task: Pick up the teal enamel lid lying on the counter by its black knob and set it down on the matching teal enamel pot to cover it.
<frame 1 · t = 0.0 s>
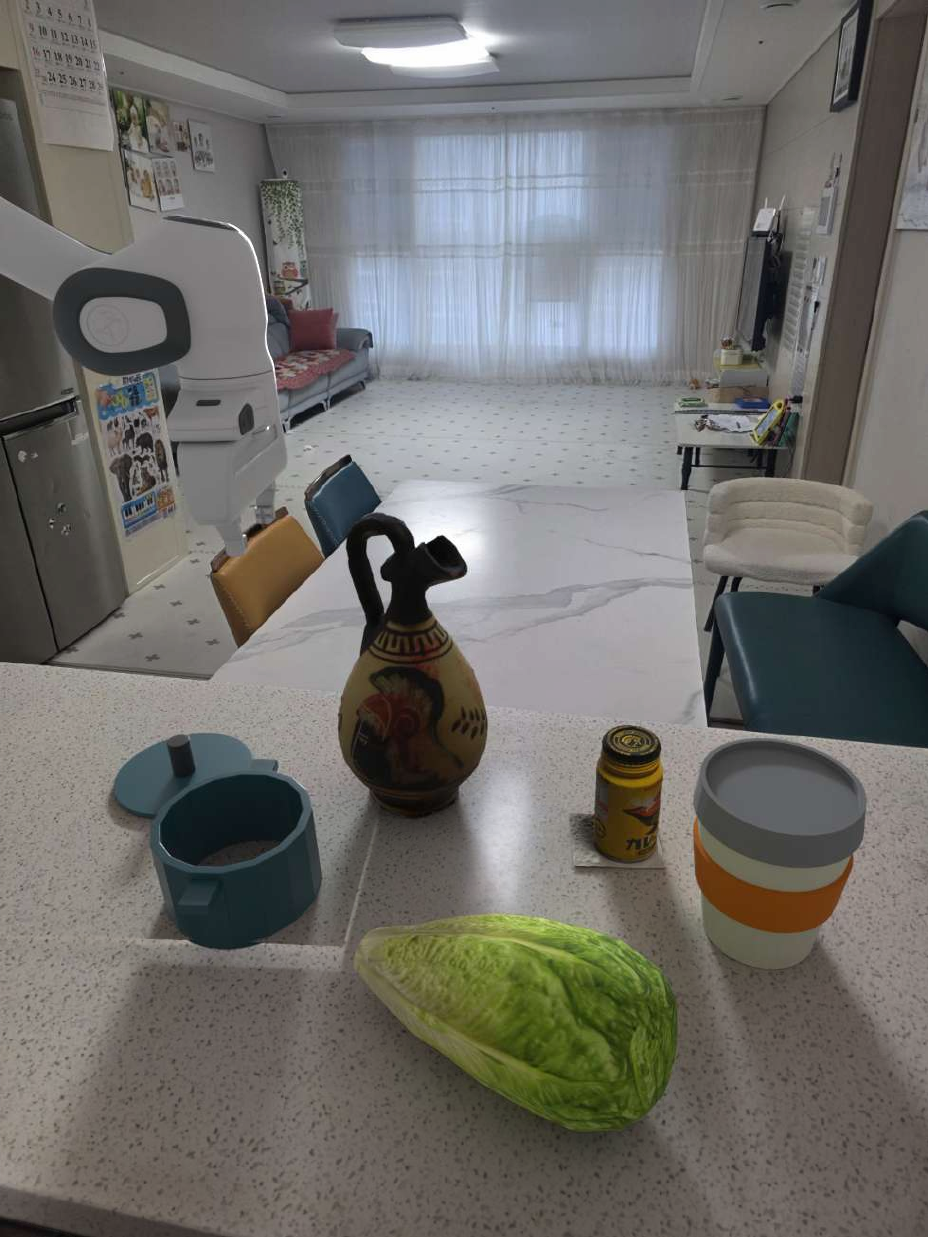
hand: (252, 537, 85), 25 cm above the table, tool pointing down, fingers open, 8 cm apart
pot: (246, 890, 75), on the table
reusable coffee cup: (756, 927, 70), on the table
ceramic jug: (411, 786, 89), on the table
condiment: (615, 843, 80), on the table
lettuce: (503, 1043, 61), on the table
pot lid: (185, 775, 90), point 1 cm above the table
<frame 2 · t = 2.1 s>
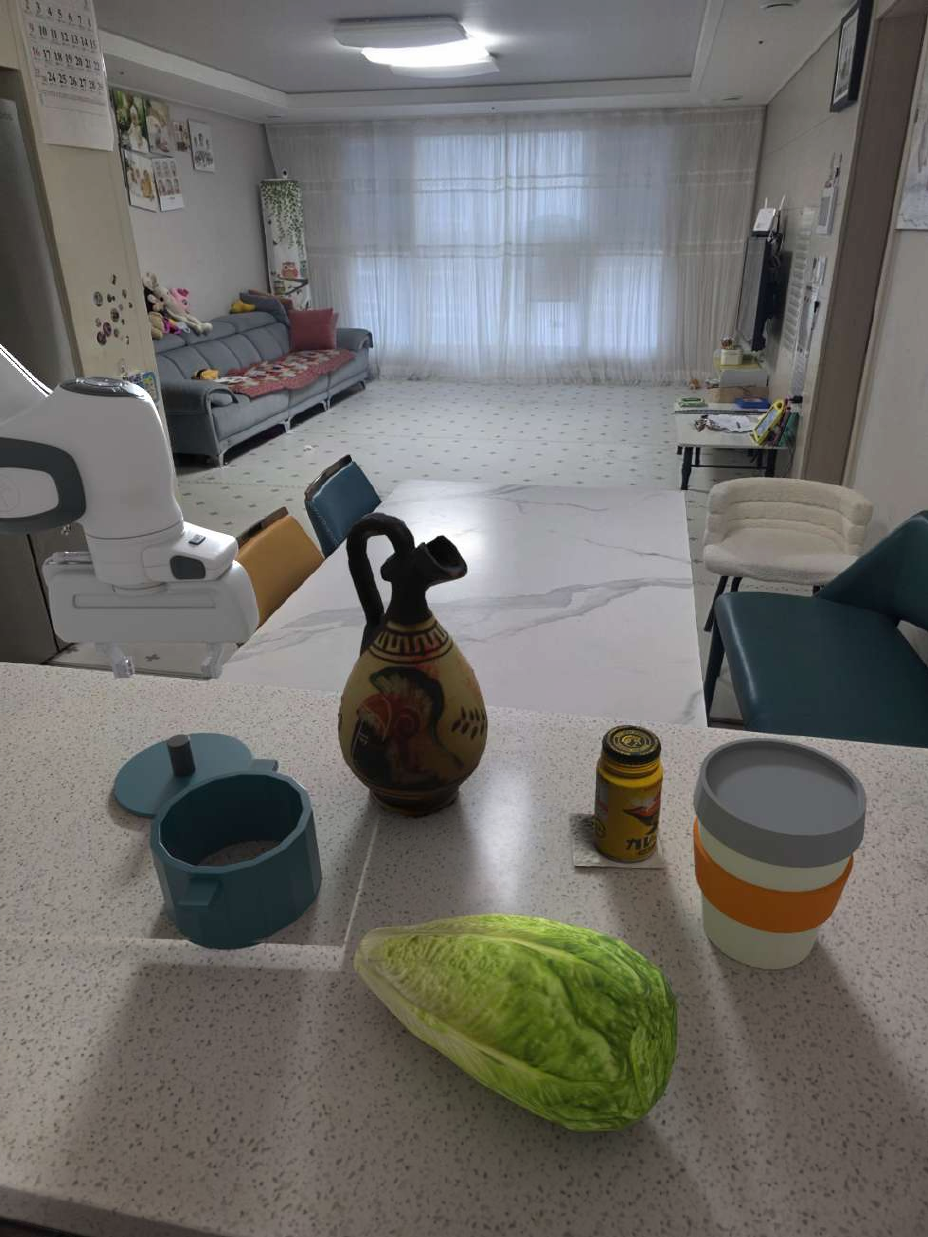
hand: (169, 676, 85), 13 cm above the table, tool pointing down, fingers open, 8 cm apart
nothing on the table moved.
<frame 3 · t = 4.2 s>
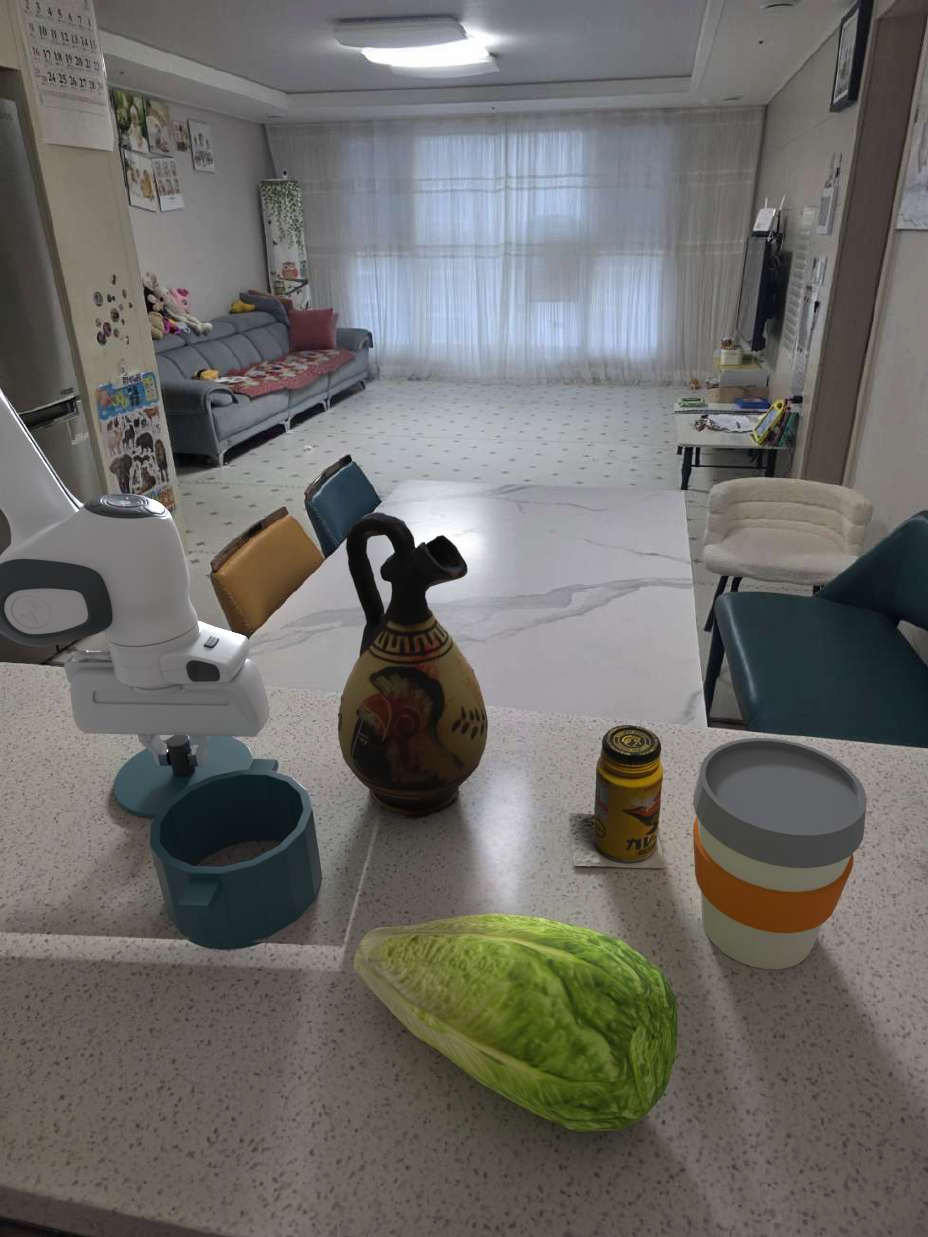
hand: (183, 763, 90), 2 cm above the table, tool pointing down, fingers closed on pot lid, 2 cm apart
pot lid: (185, 775, 90), point 1 cm above the table, touching gripper
everything else where it was.
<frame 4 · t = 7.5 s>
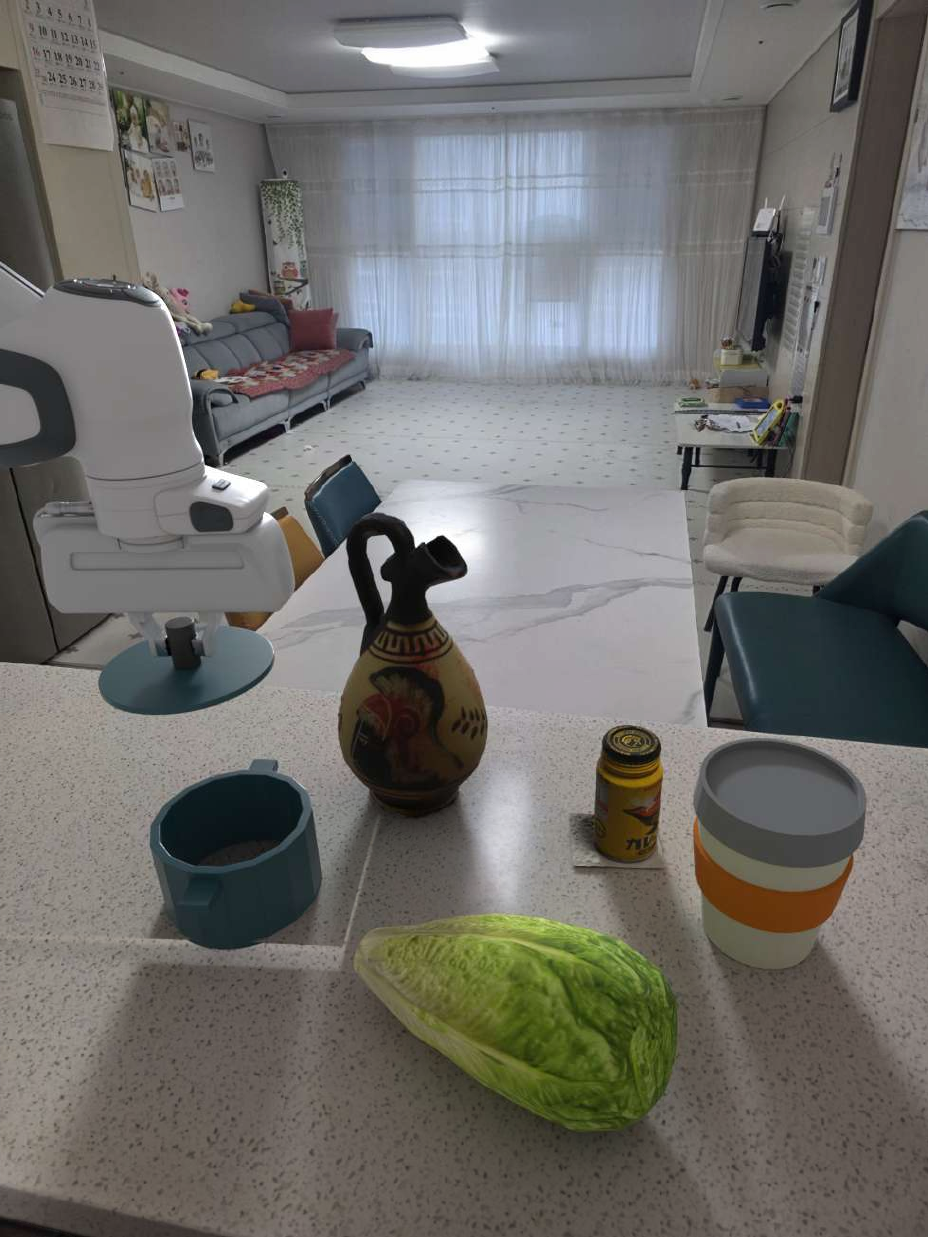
hand: (186, 653, 71), 22 cm above the table, tool pointing down, fingers closed on pot lid, 2 cm apart
pot lid: (189, 669, 72), point 20 cm above the table, touching gripper
everything else where it was.
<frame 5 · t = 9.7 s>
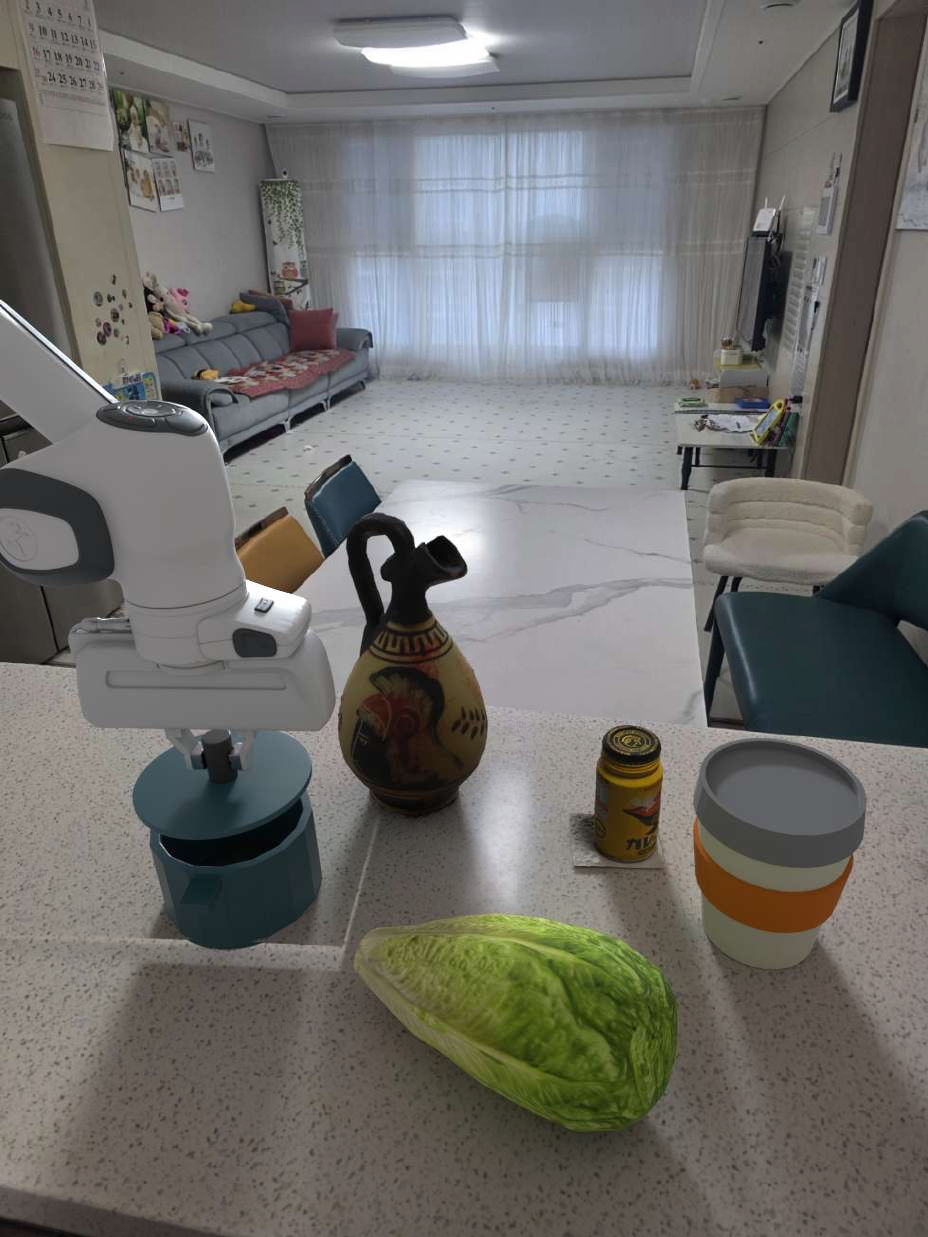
hand: (222, 766, 69), 14 cm above the table, tool pointing down, fingers closed on pot lid, 2 cm apart
pot lid: (225, 781, 70), point 12 cm above the table, touching gripper
everything else where it was.
when the fingers open (10 cm above the table, at t = 10.9 s): pot lid stays where it is, resting on pot.
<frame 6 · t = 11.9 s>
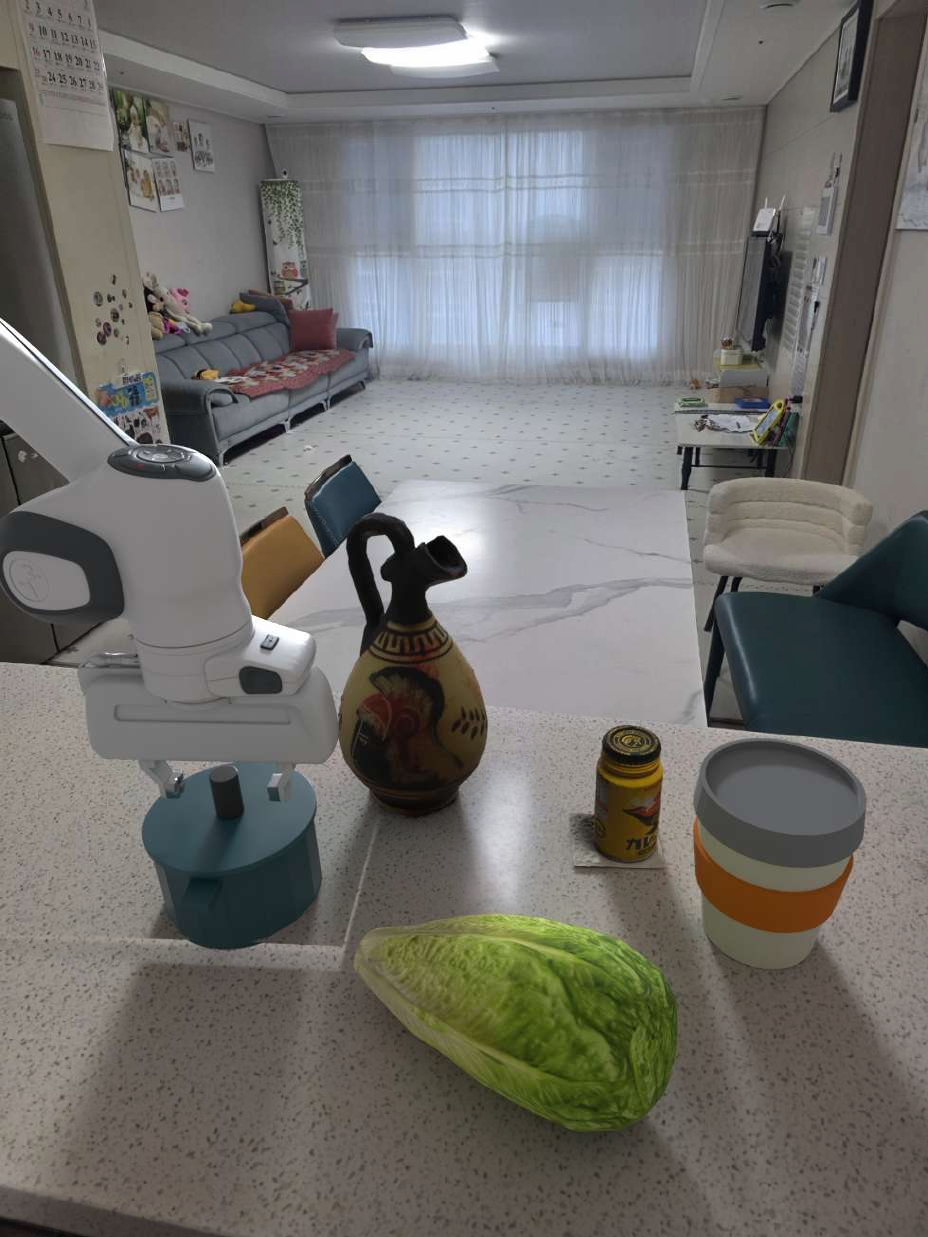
hand: (227, 795, 71), 11 cm above the table, tool pointing down, fingers open, 8 cm apart
pot lid: (231, 816, 72), point 8 cm above the table, touching pot
everything else where it was.
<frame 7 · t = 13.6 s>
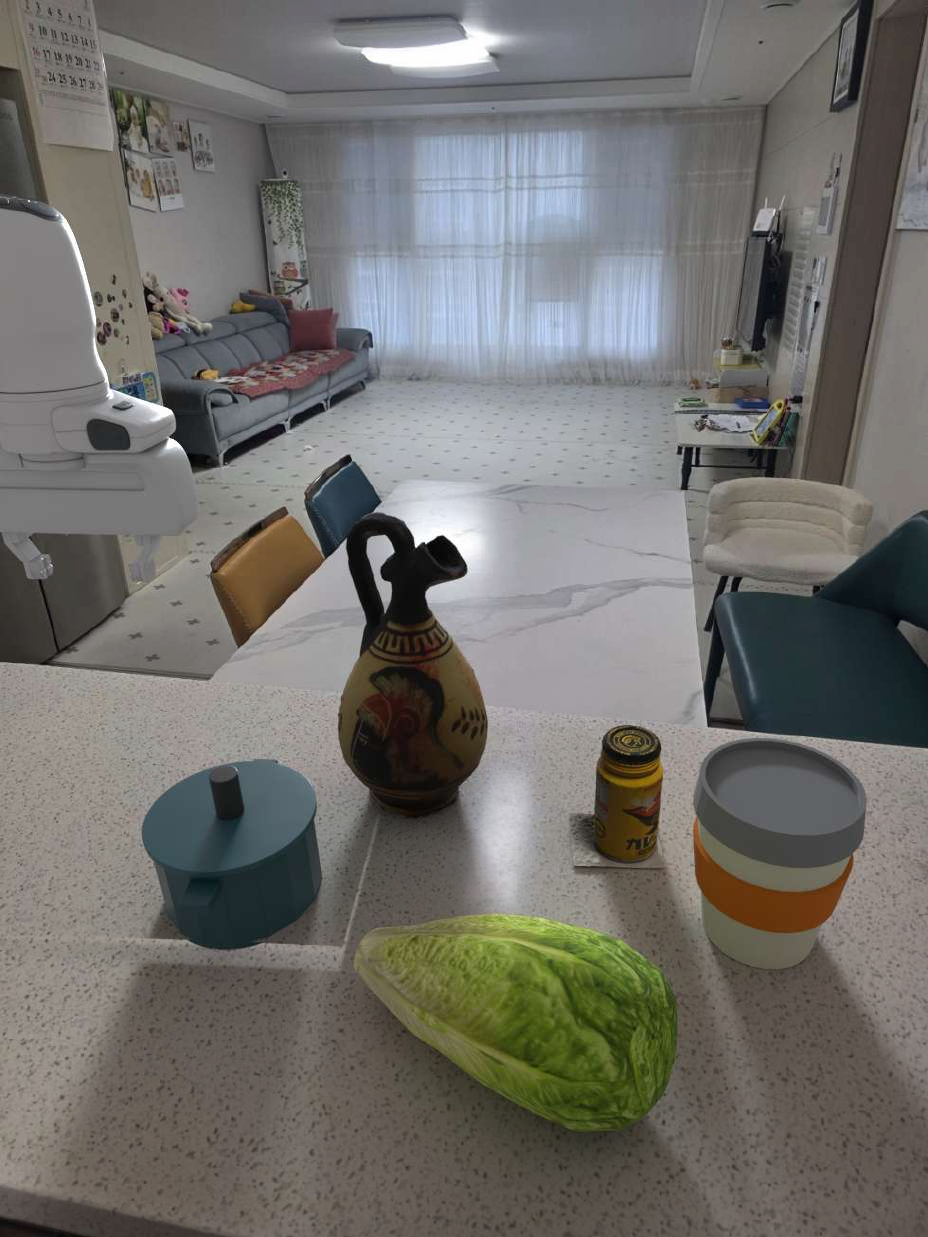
hand: (92, 578, 72), 27 cm above the table, tool pointing down, fingers open, 8 cm apart
nothing on the table moved.
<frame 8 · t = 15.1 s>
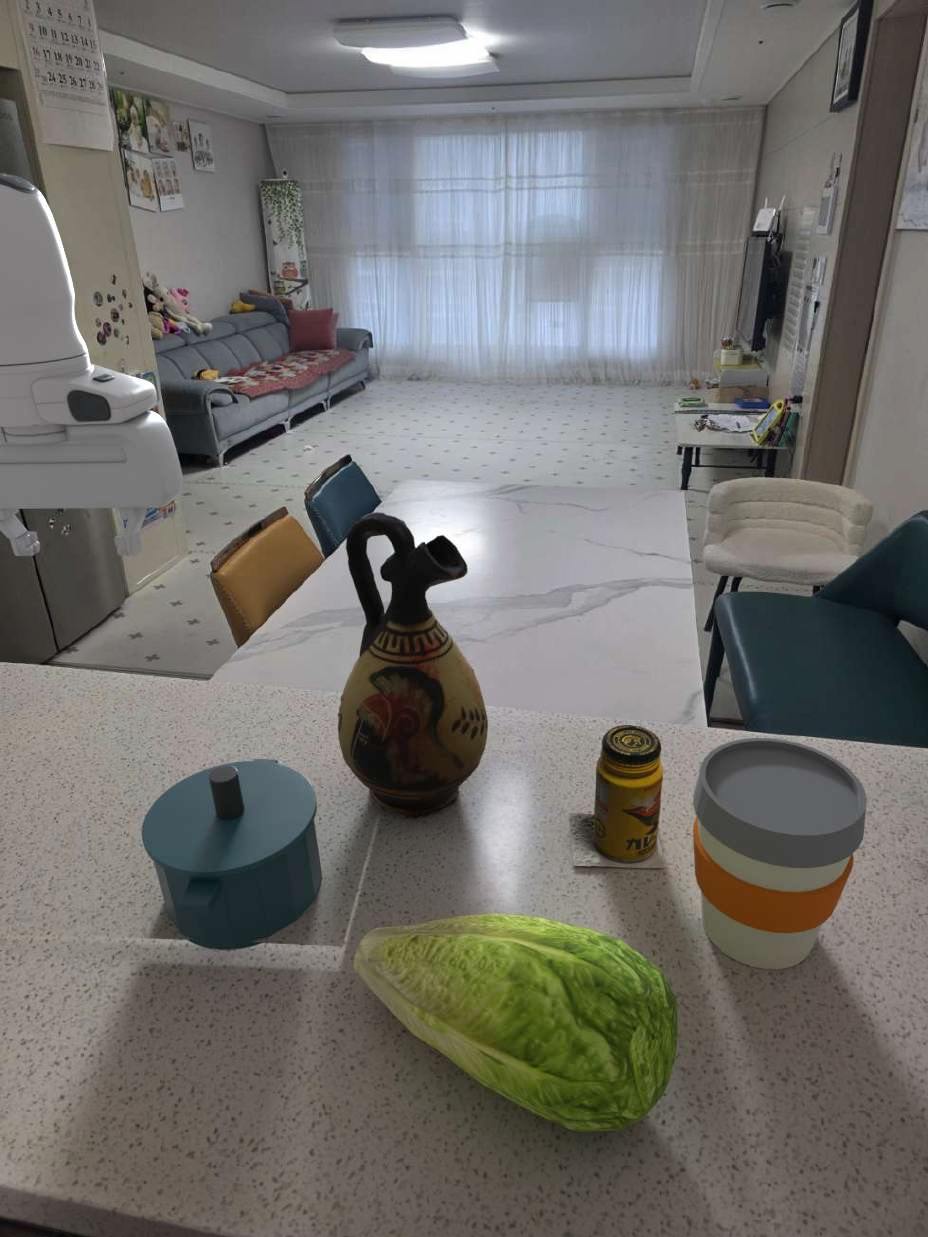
hand: (79, 553, 73), 29 cm above the table, tool pointing down, fingers open, 8 cm apart
nothing on the table moved.
at the end: pot lid 0.0 cm off-centre on the pot, point 8.5 cm above the pot's base; pot lid tilted 0° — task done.
